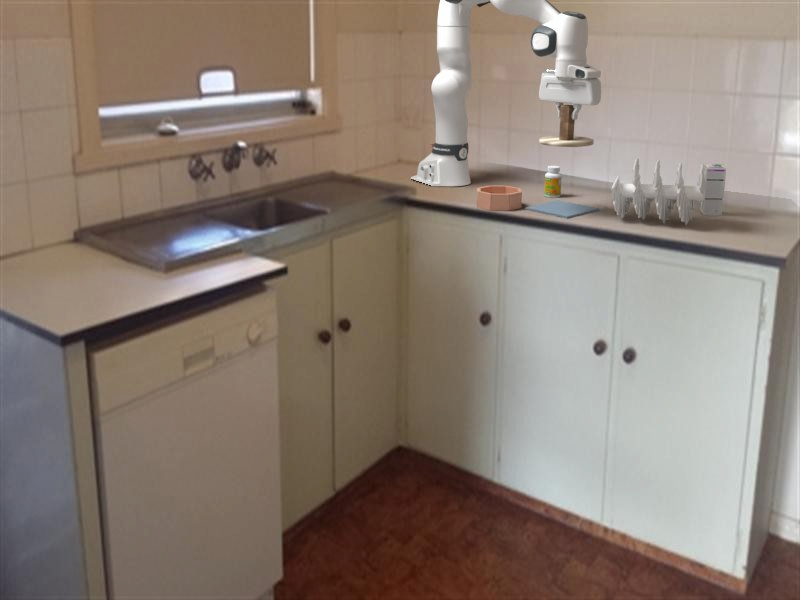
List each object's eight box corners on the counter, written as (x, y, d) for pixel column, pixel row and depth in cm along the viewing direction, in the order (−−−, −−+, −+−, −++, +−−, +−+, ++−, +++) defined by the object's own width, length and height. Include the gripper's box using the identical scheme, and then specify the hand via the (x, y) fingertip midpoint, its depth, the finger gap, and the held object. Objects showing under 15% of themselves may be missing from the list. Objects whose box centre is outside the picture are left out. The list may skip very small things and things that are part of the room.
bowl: (467, 205, 272) (468, 189, 270) (496, 199, 280) (497, 183, 279) (500, 212, 262) (501, 196, 260) (529, 206, 271) (530, 190, 269)
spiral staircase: (617, 226, 262) (703, 231, 251) (605, 212, 246) (697, 216, 235) (624, 168, 264) (710, 170, 253) (613, 150, 248) (704, 151, 237)
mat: (525, 209, 266) (525, 207, 266) (557, 202, 276) (557, 200, 276) (567, 218, 255) (567, 216, 255) (599, 210, 265) (599, 208, 265)
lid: (528, 142, 260) (529, 105, 256) (561, 137, 270) (563, 101, 266) (571, 148, 248) (573, 109, 245) (604, 143, 258) (607, 105, 255)
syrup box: (722, 216, 257) (727, 167, 253) (701, 215, 259) (706, 166, 254) (719, 211, 263) (724, 164, 258) (698, 211, 264) (704, 163, 259)
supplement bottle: (541, 196, 284) (543, 167, 281) (546, 193, 288) (548, 164, 285) (557, 198, 282) (559, 168, 278) (562, 195, 286) (564, 166, 283)
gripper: (535, 69, 258) (533, 116, 262) (592, 72, 243) (589, 122, 248) (549, 68, 262) (546, 114, 266) (605, 71, 247) (602, 120, 252)
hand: (567, 118), depth 257 cm, fingers closed on lid, 3 cm apart
